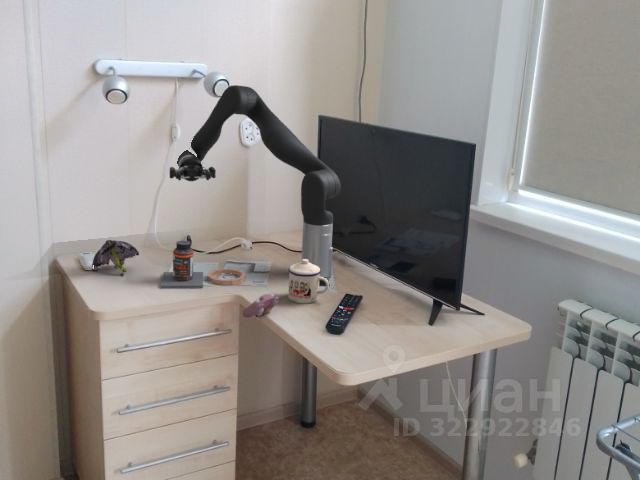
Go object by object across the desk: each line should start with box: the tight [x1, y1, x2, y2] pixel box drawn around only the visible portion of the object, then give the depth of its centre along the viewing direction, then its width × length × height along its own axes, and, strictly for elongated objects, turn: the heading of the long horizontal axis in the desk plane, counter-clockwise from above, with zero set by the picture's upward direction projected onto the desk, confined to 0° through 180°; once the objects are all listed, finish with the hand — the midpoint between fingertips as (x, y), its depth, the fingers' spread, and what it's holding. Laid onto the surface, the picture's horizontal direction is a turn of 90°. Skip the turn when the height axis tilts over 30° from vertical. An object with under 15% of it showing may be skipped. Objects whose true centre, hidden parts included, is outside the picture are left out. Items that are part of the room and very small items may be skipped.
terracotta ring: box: [207, 268, 246, 286], centre depth 209 cm, size 11×11×1 cm
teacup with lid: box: [288, 258, 330, 304], centre depth 195 cm, size 12×9×12 cm
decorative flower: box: [91, 239, 140, 277], centre depth 208 cm, size 14×12×15 cm
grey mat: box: [160, 271, 204, 289], centre depth 205 cm, size 12×12×1 cm
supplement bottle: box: [172, 240, 194, 281], centre depth 203 cm, size 6×6×11 cm
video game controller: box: [242, 292, 280, 318], centre depth 183 cm, size 10×5×7 cm, turn 145°
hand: (193, 177), depth 210 cm, fingers open, 8 cm apart
